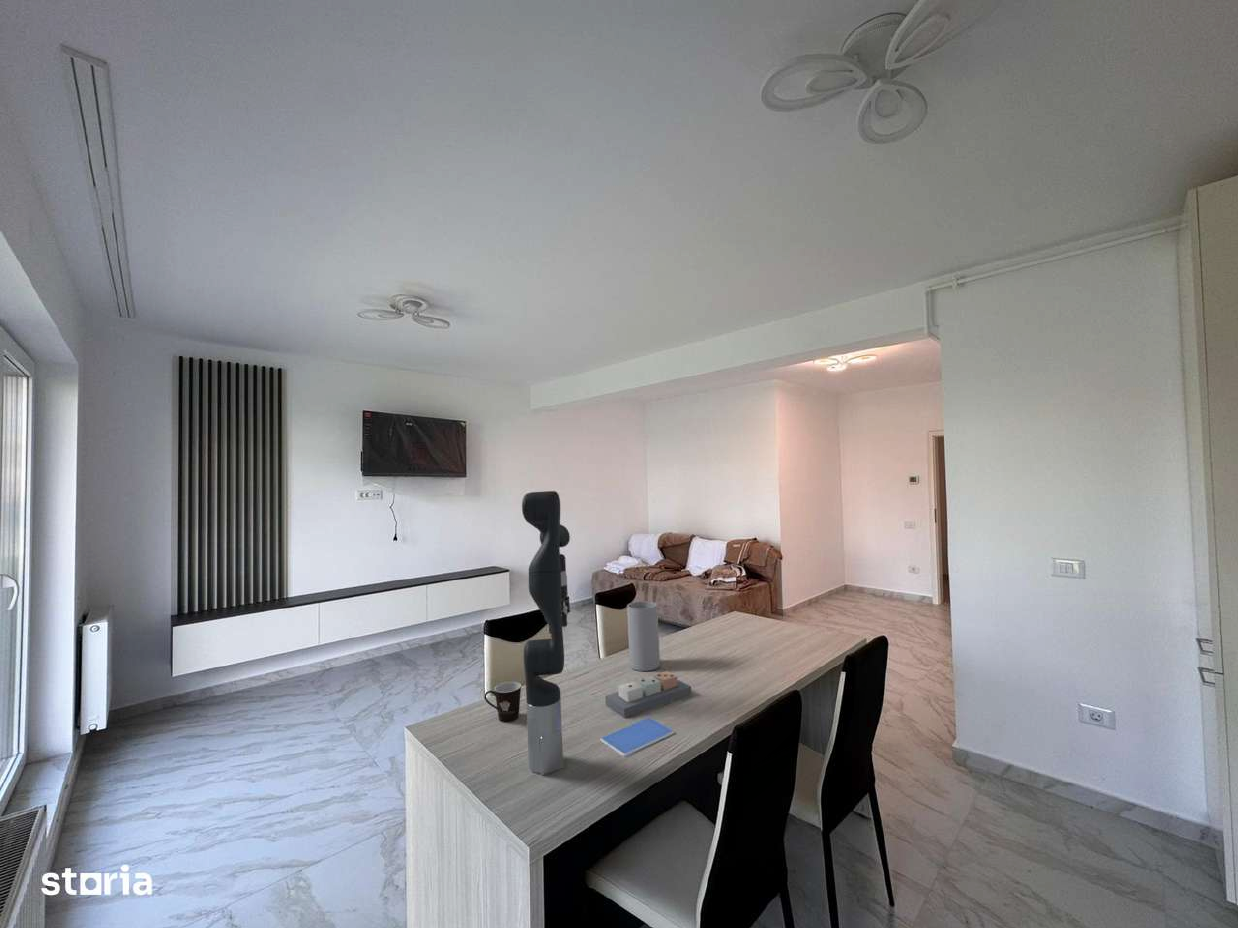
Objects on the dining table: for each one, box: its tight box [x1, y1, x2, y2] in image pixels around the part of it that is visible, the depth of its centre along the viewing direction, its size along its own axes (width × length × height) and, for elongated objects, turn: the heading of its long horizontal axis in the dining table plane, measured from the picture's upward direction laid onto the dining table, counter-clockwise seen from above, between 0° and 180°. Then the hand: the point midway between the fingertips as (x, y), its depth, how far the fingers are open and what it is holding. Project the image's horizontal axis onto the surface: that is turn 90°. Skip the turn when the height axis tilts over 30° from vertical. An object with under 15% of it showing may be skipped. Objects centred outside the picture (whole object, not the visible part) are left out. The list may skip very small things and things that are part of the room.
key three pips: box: [653, 670, 679, 691], centre depth 172 cm, size 6×6×4 cm
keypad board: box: [604, 679, 692, 719], centre depth 168 cm, size 12×28×3 cm, turn 122°
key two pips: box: [635, 675, 661, 696], centre depth 168 cm, size 6×6×4 cm
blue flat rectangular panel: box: [599, 717, 675, 758], centre depth 144 cm, size 19×13×1 cm, turn 127°
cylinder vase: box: [626, 601, 661, 672], centre depth 200 cm, size 12×12×25 cm
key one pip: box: [617, 681, 643, 702], centre depth 164 cm, size 6×6×4 cm
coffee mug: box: [484, 681, 522, 724], centre depth 160 cm, size 12×9×10 cm
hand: (558, 629), depth 172 cm, fingers open, 8 cm apart
